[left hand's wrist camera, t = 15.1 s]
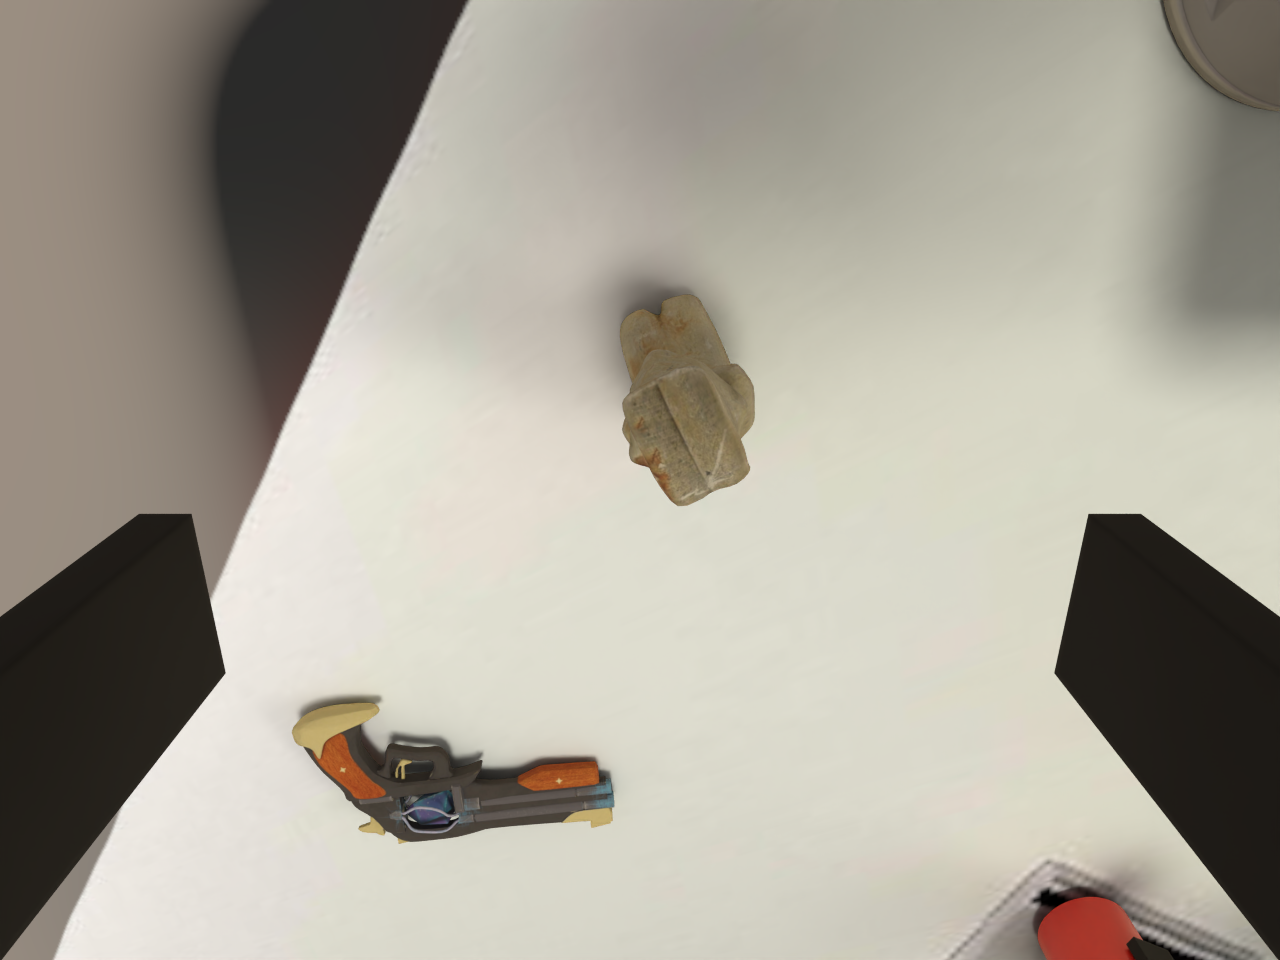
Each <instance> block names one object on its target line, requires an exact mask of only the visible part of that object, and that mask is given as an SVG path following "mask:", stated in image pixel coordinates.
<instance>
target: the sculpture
mask: <svg viewBox="0 0 1280 960" xmlns="http://www.w3.org/2000/svg"><path fill="white" fill-rule="evenodd" d="M620 340H621V345H622V350H623V354H624V358H625V361H626V364H627V368H628V371H629V374H630V378H631V380H632V383H633V384H632V386H631V389H630V394H628V395H627V396H626V398H625V399H624V400H623V403H622V404H623V411H624V415H625V420H624V423H623V428H622V431H623V434H624V436H625V438H626V439H627V441H628V442H629V443H630V447H629V456H630V459H631V461H632V462H634V463H636V464H639V465H642V466H646V467H649V468H650V470H651V472H652V474H653V476H654V478H655V479H656V481H657V482H658V484H659V485H660V487H661V489H662V490H663V491H664V493H665V494H666V495H667V497H668V498H669V499H670V500H671V501H672V502H673V503H674V504H676V505H677V506H687V505H689V504H692V503H694V502H696V501H698V500H700V499H702V498H704V497H705V496H707V495H708V494H709V493H711V492H713V491H716V490H718V489H721V488H725V487H729V486H732V485H735V484H737V483H738V482H740V481H741V480H742V479H744V478H745V476H746V475H747V474H748V472H749V471H750V466H749V464H748V461H747V457H746V453H745V449H744V446H743V444H742V441H741V438H742V437H743V436H744V435H745V434H746V433H747V431H748V430H749V429H750V428H751V426H752V425H753V422H754V418H755V405H754V388H753V384H752V382H751V380H750V379H749V377H748V376H747V374H746V373H745V371H744V370H743V369H742V368H741V367H740V366H739V365H737V364H730V362H729V359H728V357H727V354H726V352H725V350H724V347H723V345H722V342H721V340H720V338H719V336H718V334H717V332H716V329H715V327H714V325H713V324H712V322H711V320H710V318H709V316H708V314H707V312H706V311H705V309H704V307H703V305H702V303H701V302H700V300H699V299H698V298H697V297H695V296H693V295H681V296H676V297H672V298H669V299H667V300H665V301H663V303H662V306H661V314H660V315H655V314H653V313H651V312H649V311H647V310H645V309H642V310H638V311H635V312H633V313H631V314H630V315H628V316H627V317H626V318H625V320H624V321H623V323H622V325H621V328H620Z"/></svg>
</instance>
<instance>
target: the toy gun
mask: <svg viewBox="0 0 1280 960" xmlns="http://www.w3.org/2000/svg"><path fill="white" fill-rule="evenodd" d="M378 712H379V708H378V706H377V705H375V704H373V703H352V704H338V705H331V706H327V707H323V708H319V709H316V710H313V711H311V712H310V713H308V714H306V715H305V716H303V717H302V718H301V719H300V720H299V721H298V722H297V723H296V725H295V726H294V727H293V730H292V734H293V738H294V740H295V742H296V743H297V744H298V745H300V746H303V747H304V748H305V750H306V751H307V753H308V754H309V756H310V757H311V758H312V760H313V761H314V762H315V764H316V765H317V766H318V767H319V768H320V770H321V771H322V772H323V773H324V774H325V775H326V776H328V777H329V778H330V779H331V780H332V781H333V782H334V783H335V784H336V785H337V786H339V787H340V788H341V790H342V791H343V792H344V794H345V796H346V799H347V800H349V801H352V803H353V804H354V806H355V807H356V808H358V809H359V810H361V811H362V812H364V813H366V814H368V815H369V816H371V822H369V823H366V824H363V825H361V826H359V828H358V829H359V830H360V831H362V832H367V833H378V834H380V835H385V832H386V831H387V832H390V833H392V834H393V835H394V836H396V837H397V838H398V842H399V844H400V843H405V842H417V841H427V840H437V839H446V838H453V837H459V836H463V835H467V834H471V833H474V832H478V831H481V830H484V829H489V828H498V827H507V826H518V825H530V824H543V823H557V822H561V823H567V822H578V821H591V828H593V827H597V826H601V825H605V824H609V823H611V822H610V821H613V819H612V807H614V795H613V791H612V789H611V779H610V778H608V779H606V777H605V776H599V772H598V765H597V764H596V762H595V761H592V762H576V763H563V764H549V765H541V766H538V767H536V768H534V769H532V770H529V771H527V772H525V773H523V774H521V775H519V776H518V777H516V778H506V779H496V780H489V779H478V778H476V777H477V775H478V774H479V772H480V770H481V766H482V760H480V761H477V762H475V763H472V764H470V765H467V766H463V767H459V768H454V769H453V768H452V767H451V765H450V758H449V755H448V754H447V752H446V751H445V750H444V749H443V748H441V747H439V746H432V747H409V746H403V745H398V744H389V745H388V747H387V749H386V759H385V764H383V765H381V766H380V765H379V764H377V763H376V762H375V761H374V760H373V758H372V757H371V756H370V754H369V753H368V752H367V750H366V749H365V747H364V746H363V744H362V741H361V735H360V726H361V724H362V723H364V722H366V721H368V720H369V719H371V718H372V717H373V716H375V715H376V714H377V713H378ZM394 758H401V761H400V762H399V764H398V766H397V768H396V772H393V771H392V764H391V762H392V760H393V759H394ZM412 760H415V761H424V760H430V761H432V762H433V763H434V768H433V770H432V771H429V772H420V773H410V774H405V768H404V766H405V765H406V764H409V763H412ZM399 766H401V774H399V773H398V768H399ZM451 789H452V791H450V790H451ZM420 794H424V795H423V796H422V797H421V798H419V799H418V800H417V801H415V802H414V803H413V804H412V805H411V806H409V805H407V804H406V803H407V802H408V801H409V800H410V798H411V797H412V795H420ZM404 796H409V797H408V799H407V800H405V799H404ZM406 808H407V809H406ZM454 811H455V813H454ZM453 813H454V814H453ZM407 814H408V815H409V816H410V817H412V818H413V819H414V820H415V821H417V822H414V821H411V820H409V819H408V816H407ZM456 815H459V817H458V818H456V819H454V820H450V819H451V817H453V816H456ZM385 830H386V831H385Z"/></svg>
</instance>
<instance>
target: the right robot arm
mask: <svg viewBox="0 0 1280 960" xmlns="http://www.w3.org/2000/svg"><path fill="white" fill-rule="evenodd" d="M1126 945H1127V947H1128V948H1129V950H1130V952H1131V953H1132V955H1133V957H1134V958H1135V960H1174V959H1173V958H1172V956H1171V955H1170V953H1169V951H1168V950H1166V949H1163V948H1161V947H1158V946H1156V945H1153V944H1151V943H1148V942H1146V941H1144V940H1141V939H1139V938H1136V937H1133V938H1132V939H1131V940H1130V941H1129V942H1128V943H1127V944H1126Z"/></svg>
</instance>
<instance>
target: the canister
mask: <svg viewBox="0 0 1280 960" xmlns="http://www.w3.org/2000/svg"><path fill="white" fill-rule="evenodd" d="M1133 937H1136V938H1139V939H1141V940H1142V938H1141V936H1140V935H1139V933H1138V932H1137V930H1136V928H1135V927H1134V925H1133V924H1132V922H1131V921H1130V919H1129V917H1128V916H1127V914H1126V913H1125V911H1124V910H1123V909H1122V908H1121V907H1120V906H1119V905H1118V904H1116V903H1115V902H1113V901H1111V900H1108V899H1104V898H1099V897H1083V898H1077V899H1073V900H1070V901H1067V902H1065V903H1063V904H1061V905H1059V906H1057V907H1056V908H1054V909H1053V910H1052V911H1050V912H1049V913H1048V914H1047V915H1046V917H1045V918H1044V919H1043V921H1042V922H1041V924H1040V926H1039V930H1038V942H1039V945H1040V947H1041V949H1042V951H1043V953H1044V955H1045V957H1046V959H1047V960H1135V958H1134V957H1133V955H1132V953H1131V952H1130V950H1129V948H1128V947H1127V945H1126V944H1127V943H1128V942H1129V941H1130V940H1131V939H1132V938H1133Z"/></svg>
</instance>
